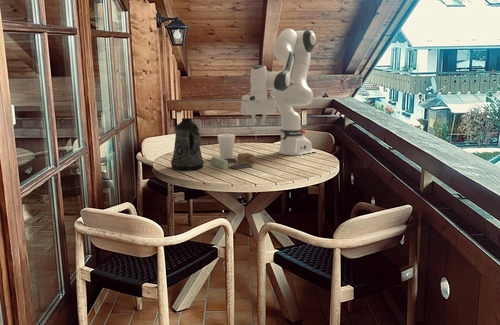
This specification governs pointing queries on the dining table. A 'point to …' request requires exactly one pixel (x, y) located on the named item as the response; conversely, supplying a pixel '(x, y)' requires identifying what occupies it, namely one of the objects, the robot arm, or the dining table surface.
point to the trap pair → (238, 165)
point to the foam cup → (226, 145)
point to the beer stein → (187, 147)
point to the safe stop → (220, 162)
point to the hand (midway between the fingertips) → (258, 122)
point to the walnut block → (245, 158)
